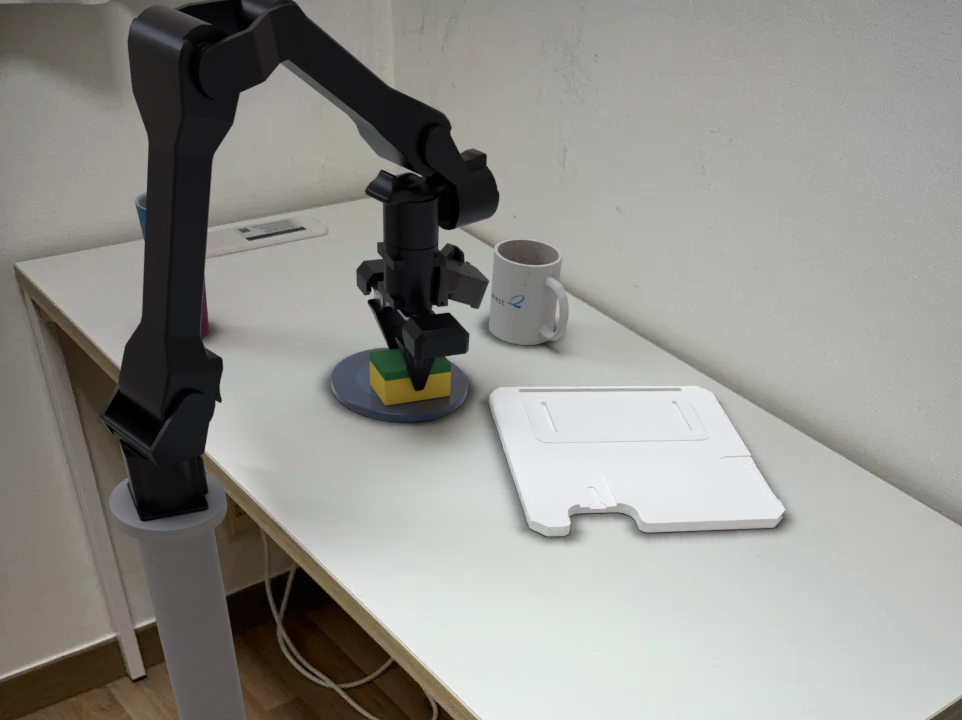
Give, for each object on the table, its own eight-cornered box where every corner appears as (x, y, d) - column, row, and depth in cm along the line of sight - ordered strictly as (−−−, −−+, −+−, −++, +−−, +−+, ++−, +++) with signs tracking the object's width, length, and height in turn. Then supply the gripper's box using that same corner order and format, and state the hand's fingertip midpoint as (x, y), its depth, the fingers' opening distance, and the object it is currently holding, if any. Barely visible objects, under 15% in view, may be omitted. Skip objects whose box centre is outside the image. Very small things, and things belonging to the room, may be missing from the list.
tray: (787, 527, 104) (791, 515, 103) (532, 537, 98) (533, 524, 97) (705, 394, 123) (708, 383, 122) (486, 396, 117) (487, 384, 116)
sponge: (385, 405, 111) (384, 372, 108) (370, 384, 114) (369, 352, 111) (450, 396, 114) (451, 363, 111) (433, 375, 117) (434, 343, 114)
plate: (358, 431, 109) (358, 423, 108) (313, 364, 118) (312, 355, 117) (488, 410, 115) (489, 402, 114) (436, 347, 124) (436, 340, 123)
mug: (477, 319, 130) (482, 242, 123) (533, 311, 134) (541, 235, 127) (521, 362, 124) (528, 282, 116) (579, 352, 127) (589, 274, 120)
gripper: (519, 269, 99) (507, 409, 110) (447, 200, 110) (443, 334, 121) (417, 280, 95) (415, 424, 106) (352, 207, 106) (357, 345, 117)
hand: (410, 379), depth 113 cm, fingers closed on sponge, 5 cm apart
